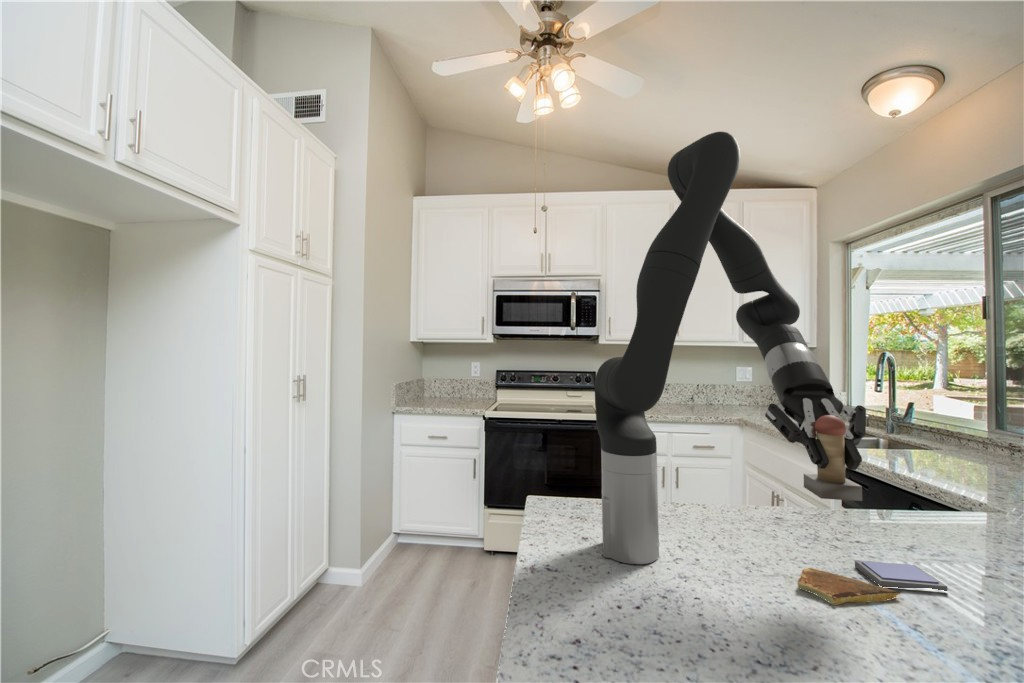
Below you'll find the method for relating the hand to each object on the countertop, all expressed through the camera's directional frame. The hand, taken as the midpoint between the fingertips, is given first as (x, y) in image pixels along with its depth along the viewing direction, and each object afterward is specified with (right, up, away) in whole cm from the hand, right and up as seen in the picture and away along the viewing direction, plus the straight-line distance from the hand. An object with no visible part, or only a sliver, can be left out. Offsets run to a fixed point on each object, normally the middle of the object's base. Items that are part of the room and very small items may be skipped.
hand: (839, 465), depth 58 cm
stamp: (0, -5, +2) cm, 5 cm away
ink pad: (+11, -18, +3) cm, 21 cm away
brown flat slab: (+1, -18, +1) cm, 19 cm away
